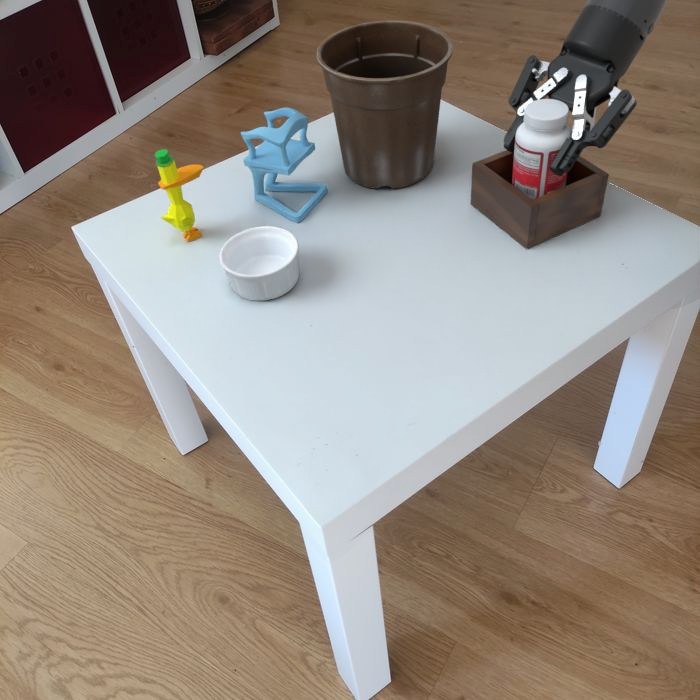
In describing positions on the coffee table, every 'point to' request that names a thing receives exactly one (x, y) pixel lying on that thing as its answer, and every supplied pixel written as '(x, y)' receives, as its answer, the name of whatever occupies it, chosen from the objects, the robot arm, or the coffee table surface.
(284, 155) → the chair
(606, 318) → the coffee table surface
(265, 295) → the ramekin
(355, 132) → the plant pot
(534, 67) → the robot arm
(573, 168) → the holder
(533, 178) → the pill bottle
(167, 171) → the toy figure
